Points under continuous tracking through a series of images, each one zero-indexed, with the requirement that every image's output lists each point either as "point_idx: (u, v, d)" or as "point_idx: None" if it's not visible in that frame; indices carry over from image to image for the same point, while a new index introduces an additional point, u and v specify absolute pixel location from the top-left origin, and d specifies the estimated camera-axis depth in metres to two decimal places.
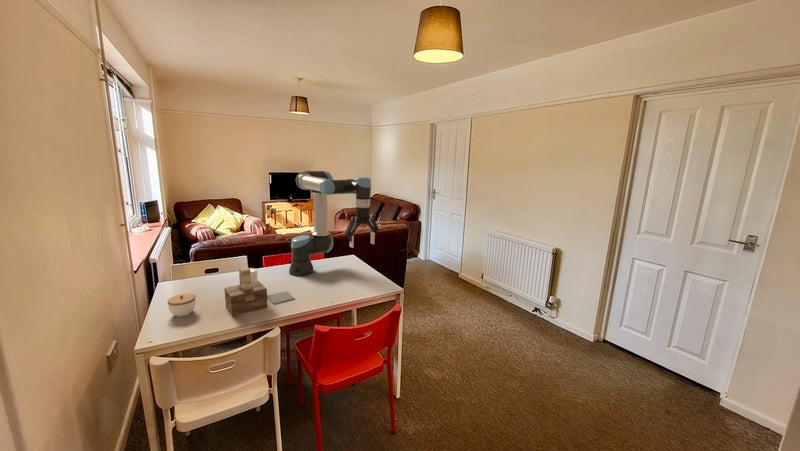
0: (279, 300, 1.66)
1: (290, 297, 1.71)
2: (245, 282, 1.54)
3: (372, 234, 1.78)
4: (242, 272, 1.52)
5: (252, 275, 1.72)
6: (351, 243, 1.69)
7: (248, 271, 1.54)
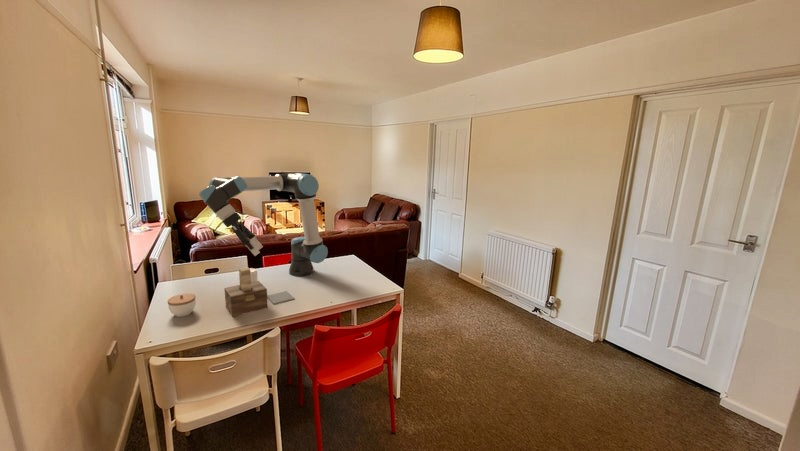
0: (279, 300, 1.66)
1: (290, 297, 1.71)
2: (245, 282, 1.54)
3: None
4: (242, 272, 1.52)
5: (252, 275, 1.72)
6: None
7: (248, 271, 1.54)
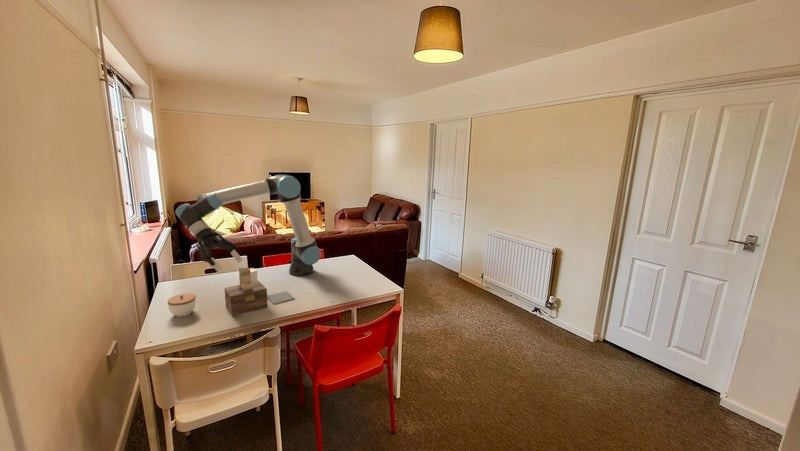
0: (279, 300, 1.66)
1: (290, 297, 1.71)
2: (245, 282, 1.54)
3: None
4: (242, 272, 1.52)
5: (252, 275, 1.72)
6: None
7: (248, 271, 1.54)
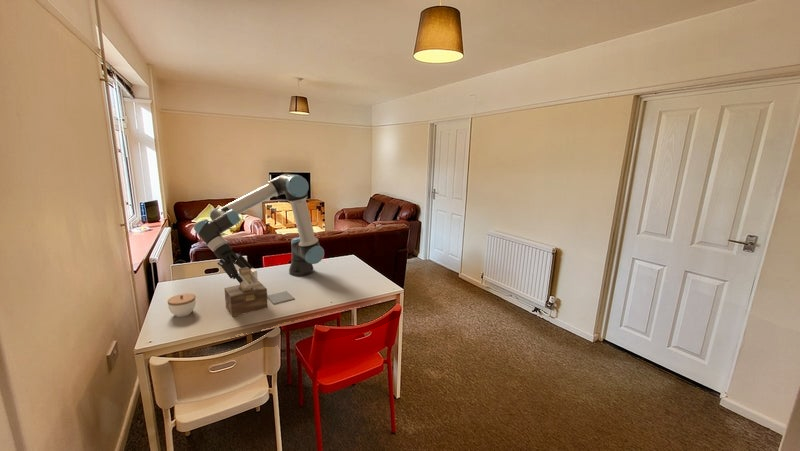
0: (279, 300, 1.66)
1: (290, 297, 1.71)
2: None
3: None
4: (242, 272, 1.52)
5: None
6: None
7: (248, 271, 1.54)
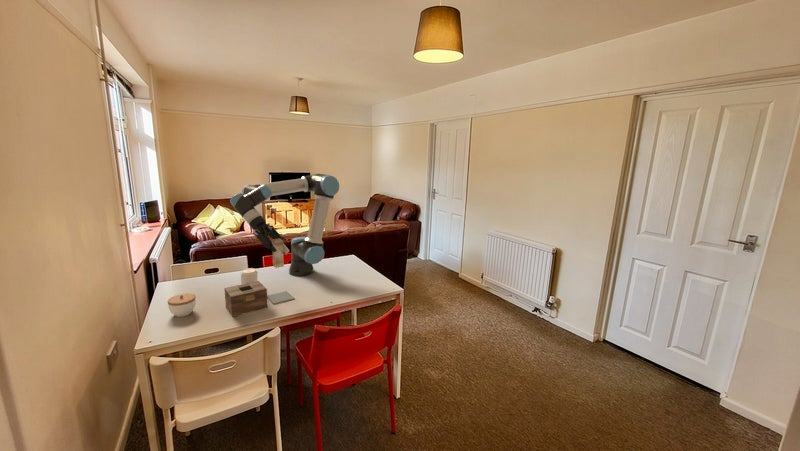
0: (279, 300, 1.66)
1: (290, 297, 1.71)
2: None
3: None
4: (276, 242, 1.61)
5: (252, 275, 1.72)
6: None
7: (281, 242, 1.63)
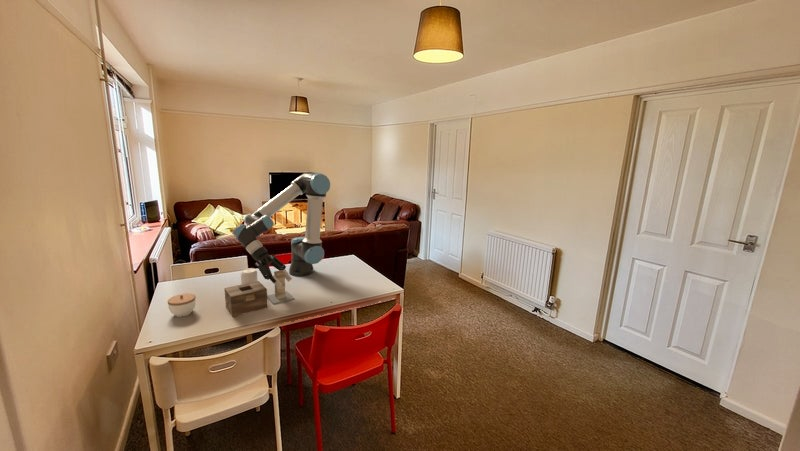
0: (279, 300, 1.66)
1: (290, 297, 1.71)
2: None
3: None
4: (278, 275, 1.65)
5: (252, 275, 1.72)
6: None
7: (283, 274, 1.67)
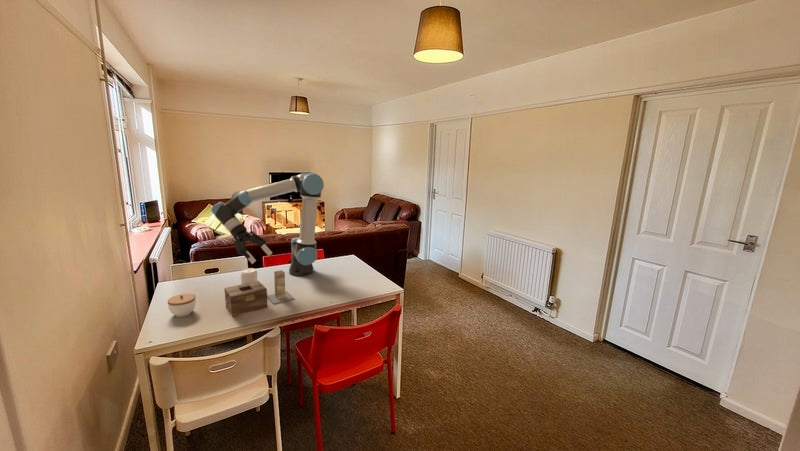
0: (279, 300, 1.66)
1: (290, 297, 1.71)
2: (280, 284, 1.67)
3: None
4: (278, 275, 1.65)
5: (252, 275, 1.72)
6: None
7: (283, 274, 1.67)
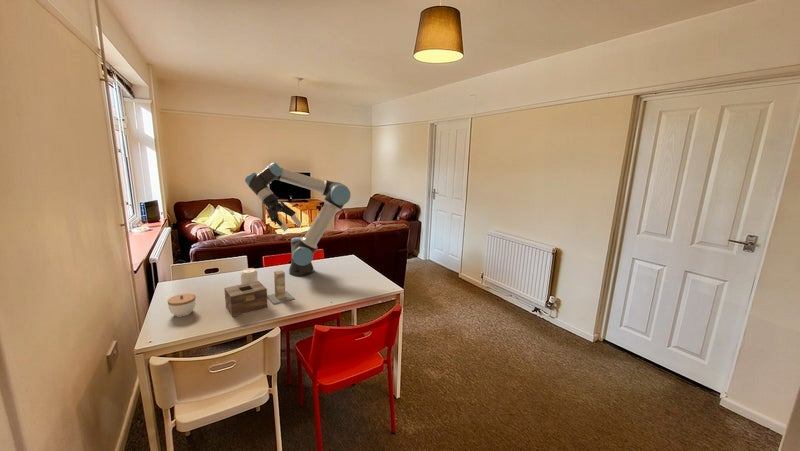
0: (279, 300, 1.66)
1: (290, 297, 1.71)
2: (280, 284, 1.67)
3: None
4: (278, 275, 1.65)
5: (252, 275, 1.72)
6: None
7: (283, 274, 1.67)
